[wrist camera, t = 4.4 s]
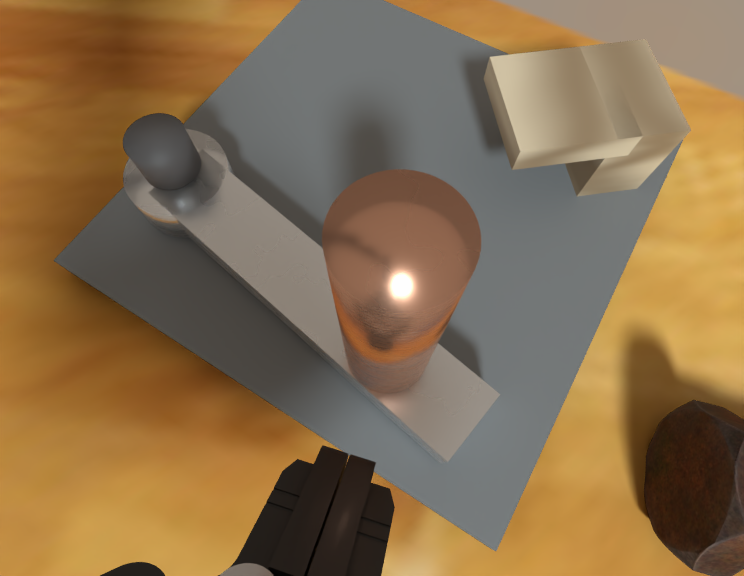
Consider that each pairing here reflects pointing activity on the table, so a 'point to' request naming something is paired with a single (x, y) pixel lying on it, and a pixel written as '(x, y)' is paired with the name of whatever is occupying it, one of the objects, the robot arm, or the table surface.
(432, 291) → the link
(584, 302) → the board
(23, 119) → the table surface
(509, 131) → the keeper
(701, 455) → the bolt
